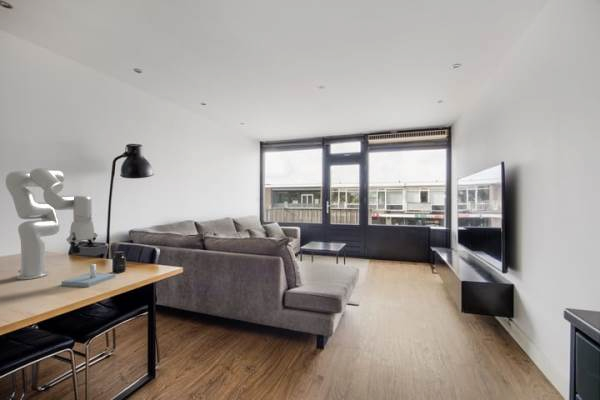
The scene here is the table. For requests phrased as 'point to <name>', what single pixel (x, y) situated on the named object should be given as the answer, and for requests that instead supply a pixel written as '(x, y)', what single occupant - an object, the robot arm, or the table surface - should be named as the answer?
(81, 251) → the dark gray open box
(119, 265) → the supplement bottle
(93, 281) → the board
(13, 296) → the table surface
